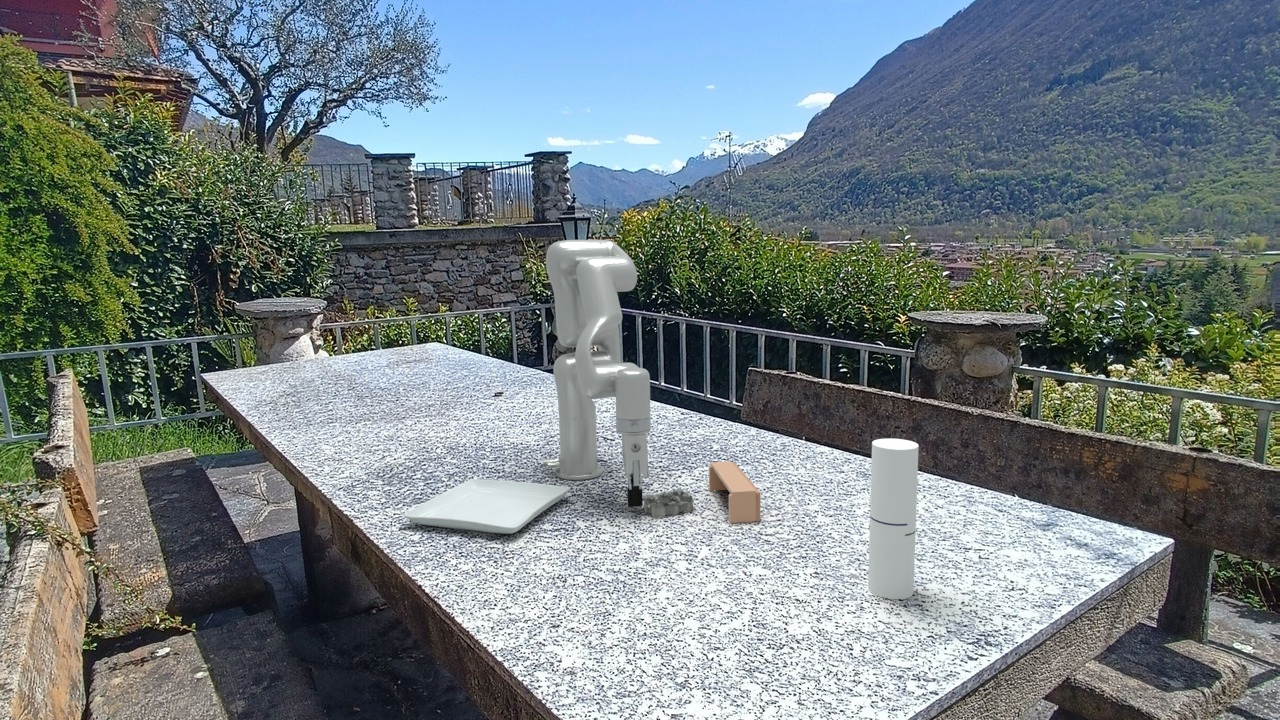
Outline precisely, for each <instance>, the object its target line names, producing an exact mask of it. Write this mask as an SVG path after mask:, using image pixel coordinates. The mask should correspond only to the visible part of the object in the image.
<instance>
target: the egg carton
mask: <svg viewBox="0 0 1280 720" xmlns="http://www.w3.org/2000/svg"><path fill="white" fill-rule="evenodd" d="M695 501H697V499H696V498H694V497H693V496H692V495H690V494H689V492H687V491H684V490H683V488H681V487H678V488H677V489H673V490H670V491H668V492H667V491H662V492H659V493H656V494H650V493H649V494H645V495H644V496H642V502H643V509H644V510H643V511H644V513H645V514H648V513H649V514H651V517H652V518H654V517H655V518H659V517H660V518H659V519H662V518H664V519H665V518H666V516H667V515H668V516H669V515H671V514H672V515H673V516H677V515H679V514H680V513H683V512H682V511H686V512H685V513H691V512H692V509H693V510H694V502H695ZM690 511H691V512H690ZM665 515H666V516H665Z"/></svg>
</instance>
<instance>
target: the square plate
mask: <svg viewBox="0 0 1280 720" xmlns="http://www.w3.org/2000/svg"><path fill="white" fill-rule="evenodd" d="M570 490H571V487H570V486H564V485H556V484H555V485H554V484H553V485H552V484H545V483H537V482H536V483H535V482H525V481H515V480H512V481H511V480H498V479H482V478H481V479H480V478H470V479H468V480H466V481H464V482H462V483H460V484H458V485H456V486H454V487H452V488H449V489H448V490H445V491H443V492H441V493H440V494H437V495H435V496H434V497H432V498H431V499H429V500H427V501H424V502H423V503H421V504H420V505H418V506H416V507H414V508H413V509H411V510H410V511H408V512H406V513H404V514H403V515H402V517H404V519H407V520H409V521H410V522H412V523H415V524H418V525H423V526H424V525H425V526H430V527H431V526H432V527H439V528H447V529H455V530H464V531H465V530H466V531H473V532H474V531H475V532H480V533H481V532H483V533H492V534H504V535H505V534H506V535H507V534H509V535H510V534H514V533H516V532H518V531H519V530H522V528H523V527H525V526H526V525H527V524H529V523H530V522H531V521H533V520H534V519H535V518H536V517H538V516H539V515H540V514H542V513H543V512H544V511H546V510H547V509H549V508H550V507H552V506H554V505H555V504H556V503H558V502H560V500H562V499H563V498H564V497H565V496H566V495H567V493H568V492H569V491H570Z"/></svg>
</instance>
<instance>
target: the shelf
mask: <svg viewBox="0 0 1280 720" xmlns="http://www.w3.org/2000/svg"><path fill="white" fill-rule="evenodd" d="M709 490H710V491H713V492H715V491H714V490H728V491H727V492H729V494H728V523H729V522H730V523H732V524H740V523H739V522H749V523H758V522H757V521H760V522H761V491H760V490H759V489H758V488H757V486H755V484H754V483H753V482H752V481H751V480H750V478H749V477H748V476H747V475H746V474H745V472H744V471H743V470H742V469H741V468H740V466H739V465H738V464H737V463H736V462H732V461H716V462H715V461H713V462H712V461H711V462H710V465H708V491H709ZM710 491H709V492H710ZM752 521H753V522H752ZM754 521H756V522H754ZM737 522H738V523H737ZM730 523H729V524H730Z"/></svg>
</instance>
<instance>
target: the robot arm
mask: <svg viewBox="0 0 1280 720" xmlns="http://www.w3.org/2000/svg"><path fill="white" fill-rule="evenodd" d="M545 265H546V272H547V277H548V280H549V281H550V285H551V288H552V290H553V291H552V292H553V295H554V296H553V297H554V309H555V311H554V312H555V313H554V314H555V324H556V327H555V328H556V335H557V340H558V342H559V344H560V345H561V346H562V347H566V348H575V352H569V353H565V354H562V355H560V356H559V357H557V359H556V360H554V364H553V371H552V372H553V378H554V382H555V387H556V393H557V401H558V407H557V408H558V423H559V424H558V426H559V427H558V430H559V454H558V457H555V458H553V459H552V458H543V459H542V466H543V467H547V469H552V468H555V469H554V475H555V476H556V477H558V478H560V479H563V480H568V481H569V480H571V481H581V480H590V479H594V478H598V477H600V476H601V475H603V473H604V467H603V466H602V465H601V464H598V446H597V444H598V440H597V416H596V415H597V413H596V412H597V408H596V404H595V402H594V401H593V400H597V399H608V398H615V426H616V427H615V429H616V431H615V432H616V434H620V435H621V447H622V462H623V463H622V464H623V470H624V474H625V477H626V479H627V488H626V491H627V493H626V494H627V495H626V496H627V505H628V508H634V507H635V508H637V507H639V508H641V507H642V506H644V501H642V498H643V488H642V486H643V485H642V480H643V478H645V479H649V478H650V476H649V475H650V474H649V457H648V456H649V455H648V453H649V451H648V437H647V434H648V433H650V432H651V431H652V428H651V427H652V425H651V420H652V419H651V378H650V377H651V376H650V372H649V371H648V370H647V369H646V368H643V367H639V366H638V365H637V364H635V363H633V362H622V360H621V344H620V342H621V340H620V330H619V329H620V328H619V325H620V324H621V323H622V321H623V313H622V307H621V305H620V300H619V295H618V293H619V292H622V293H623V292H630V291H632V290H634V288H635V287H636V285H637V282H638V273H637V268H636V264H635V263H634V261H633V259H632V258H631V257H630V256H629V254H627V252H625V251H624V250H623V249H622V248H621V247H620V246H619V245H618V244H617V243H616V242H614V241H612V240H608V239H566V240H565V239H564V240H560V241H555V242H554V243H552V244H551V245H549V247H548V248H547V251H546V256H545ZM595 346H596V347H597V348H598V349H597V350H594V351H592V347H595ZM642 477H643V478H642Z"/></svg>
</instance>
